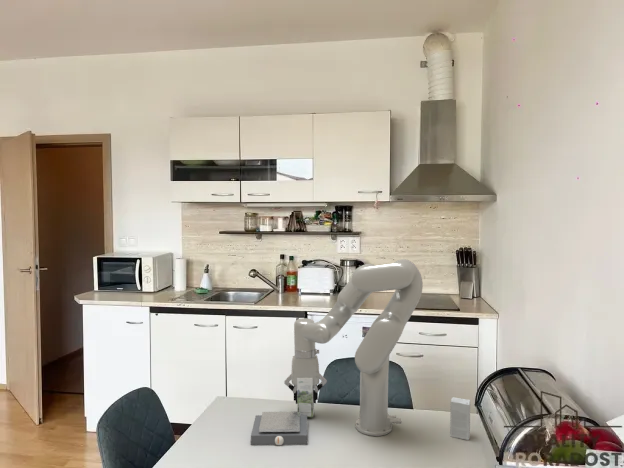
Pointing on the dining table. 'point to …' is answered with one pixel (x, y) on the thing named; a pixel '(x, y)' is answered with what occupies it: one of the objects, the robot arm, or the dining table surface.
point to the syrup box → (305, 396)
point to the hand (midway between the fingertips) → (305, 401)
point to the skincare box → (460, 418)
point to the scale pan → (280, 422)
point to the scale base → (279, 434)
